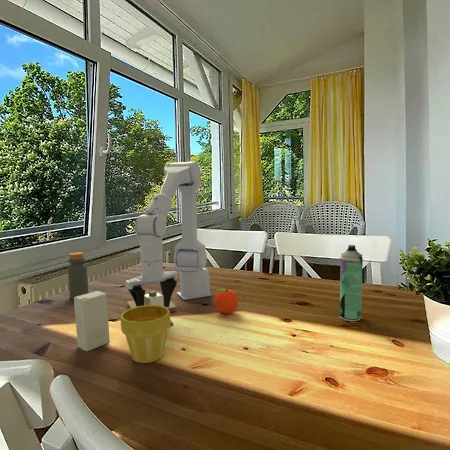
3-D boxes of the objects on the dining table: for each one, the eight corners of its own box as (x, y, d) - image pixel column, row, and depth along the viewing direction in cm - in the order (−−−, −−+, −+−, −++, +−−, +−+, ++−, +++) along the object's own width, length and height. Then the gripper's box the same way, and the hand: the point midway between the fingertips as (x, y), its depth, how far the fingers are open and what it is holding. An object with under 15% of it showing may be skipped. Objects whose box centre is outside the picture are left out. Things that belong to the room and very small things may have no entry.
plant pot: (112, 363, 74) (109, 318, 73) (140, 342, 83) (138, 302, 82) (155, 372, 70) (153, 324, 69) (180, 349, 80) (178, 307, 78)
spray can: (360, 316, 97) (362, 244, 95) (361, 323, 92) (363, 247, 90) (339, 314, 99) (341, 243, 97) (339, 321, 94) (340, 246, 92)
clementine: (207, 315, 100) (206, 290, 99) (216, 307, 107) (215, 284, 106) (234, 318, 97) (233, 293, 97) (241, 310, 104) (241, 286, 103)
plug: (156, 316, 98) (155, 289, 97) (164, 320, 95) (163, 292, 94) (143, 320, 96) (142, 292, 95) (151, 324, 93) (149, 295, 92)
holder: (165, 299, 115) (165, 295, 115) (176, 310, 104) (176, 306, 104) (127, 305, 110) (127, 301, 110) (135, 318, 99) (134, 313, 99)
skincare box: (100, 338, 86) (97, 289, 85) (110, 343, 83) (108, 293, 82) (76, 347, 81) (72, 296, 80) (86, 353, 79) (82, 300, 77)
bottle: (82, 300, 115) (79, 255, 114) (66, 299, 117) (62, 254, 115) (92, 295, 121) (89, 251, 119) (76, 294, 122) (74, 251, 121)
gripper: (167, 254, 101) (168, 300, 103) (119, 261, 92) (121, 312, 93) (181, 257, 96) (182, 306, 97) (131, 266, 86) (134, 319, 88)
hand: (153, 309), depth 95 cm, fingers open, 7 cm apart
